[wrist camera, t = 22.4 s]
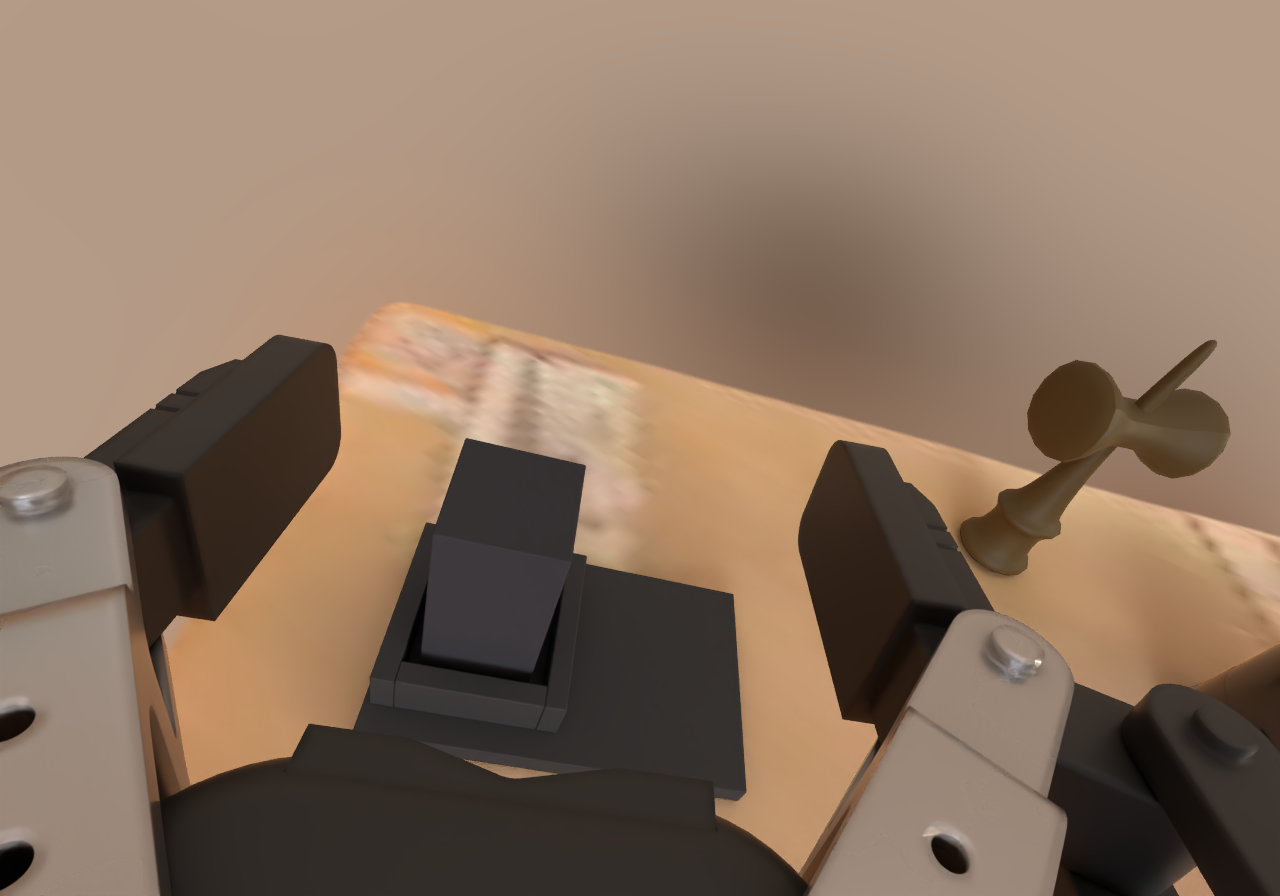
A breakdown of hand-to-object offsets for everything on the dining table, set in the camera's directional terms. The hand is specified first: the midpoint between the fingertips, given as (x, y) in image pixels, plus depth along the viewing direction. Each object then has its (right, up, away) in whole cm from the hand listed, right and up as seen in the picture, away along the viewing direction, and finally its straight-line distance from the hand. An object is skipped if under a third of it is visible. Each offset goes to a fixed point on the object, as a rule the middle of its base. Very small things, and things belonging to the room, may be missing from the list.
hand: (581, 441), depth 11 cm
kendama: (+27, -8, +39) cm, 48 cm away
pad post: (-7, -10, +22) cm, 25 cm away
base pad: (-3, -11, +23) cm, 26 cm away
